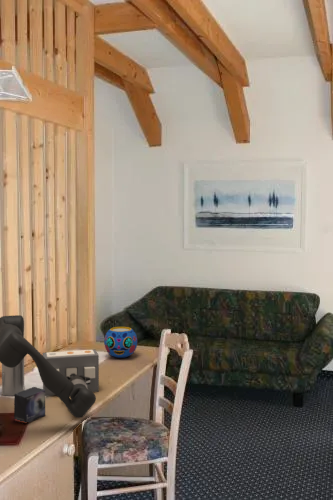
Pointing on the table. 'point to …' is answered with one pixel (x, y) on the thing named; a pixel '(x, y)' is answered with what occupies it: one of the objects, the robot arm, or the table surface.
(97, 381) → the control panel
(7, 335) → the robot arm
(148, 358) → the table surface
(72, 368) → the middle button
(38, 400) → the small box
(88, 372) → the right button
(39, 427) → the table surface
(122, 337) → the ceramic pot
